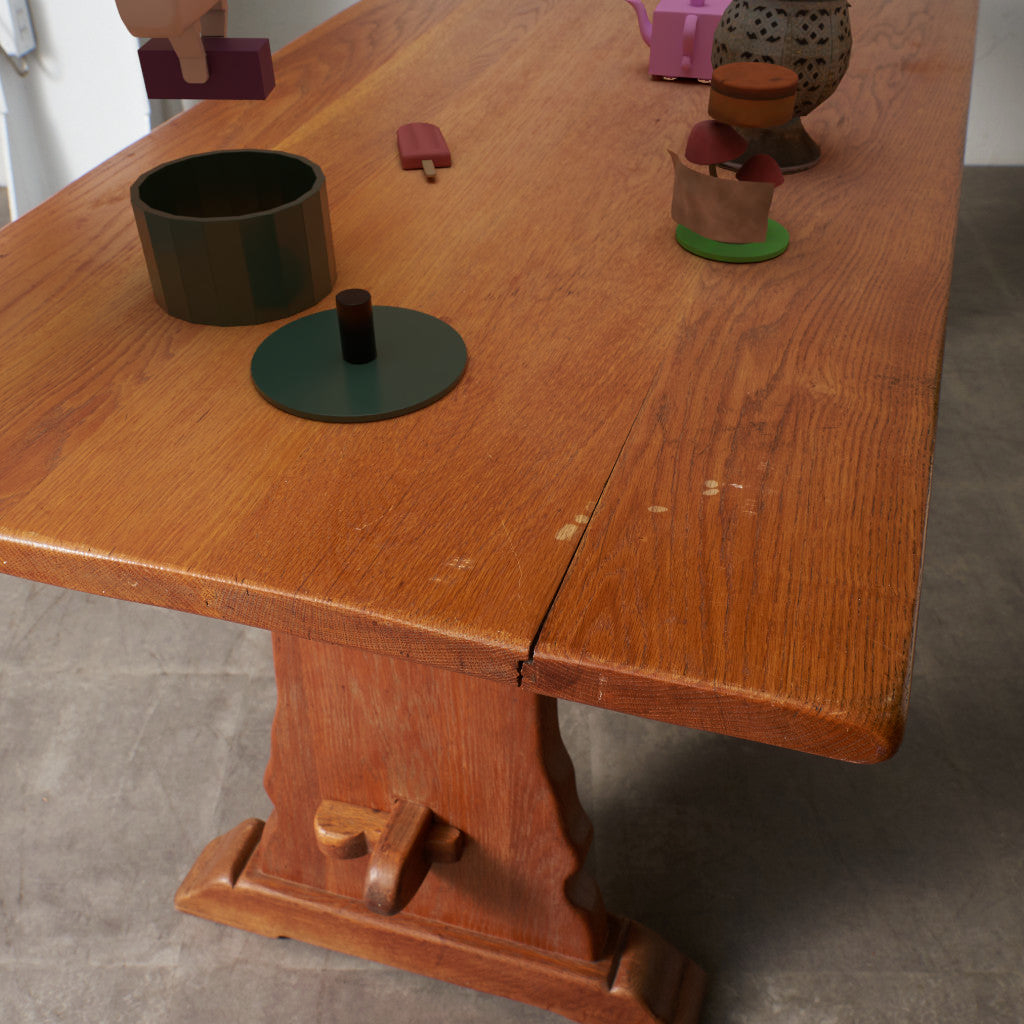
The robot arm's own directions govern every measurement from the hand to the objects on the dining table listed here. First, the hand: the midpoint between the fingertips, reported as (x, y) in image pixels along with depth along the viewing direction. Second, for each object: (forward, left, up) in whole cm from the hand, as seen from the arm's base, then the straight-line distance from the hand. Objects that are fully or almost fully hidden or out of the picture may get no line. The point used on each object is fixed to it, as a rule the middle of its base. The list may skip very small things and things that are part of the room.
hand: (207, 70), depth 77 cm
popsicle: (+12, +32, -18) cm, 39 cm away
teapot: (+44, +65, -18) cm, 81 cm away
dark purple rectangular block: (0, 0, -2) cm, 2 cm away
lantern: (+50, +35, -18) cm, 64 cm away
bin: (0, 0, -18) cm, 18 cm away
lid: (+12, -13, -18) cm, 25 cm away
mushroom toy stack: (+43, +12, -18) cm, 48 cm away
